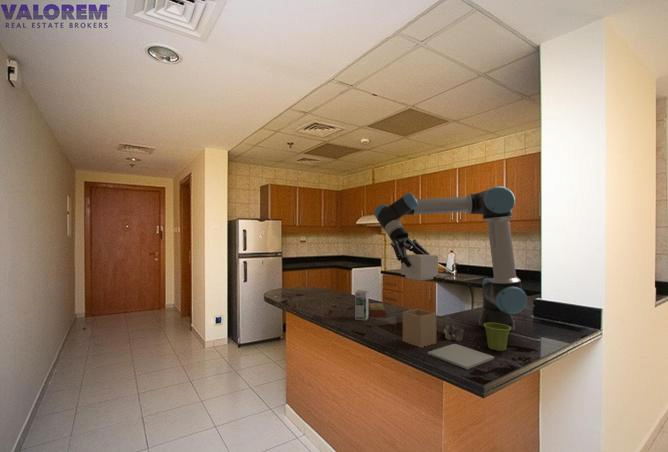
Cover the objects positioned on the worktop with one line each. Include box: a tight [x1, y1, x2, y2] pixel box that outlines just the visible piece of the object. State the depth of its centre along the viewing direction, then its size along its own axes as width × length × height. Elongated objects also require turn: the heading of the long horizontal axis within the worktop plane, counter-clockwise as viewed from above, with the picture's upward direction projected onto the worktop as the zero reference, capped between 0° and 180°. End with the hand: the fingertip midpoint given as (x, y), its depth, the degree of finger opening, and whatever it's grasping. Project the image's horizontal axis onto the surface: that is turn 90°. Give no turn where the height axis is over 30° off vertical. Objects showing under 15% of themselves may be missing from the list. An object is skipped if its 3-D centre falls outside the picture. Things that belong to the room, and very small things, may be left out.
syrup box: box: [354, 289, 369, 322], centre depth 166 cm, size 6×6×14 cm
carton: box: [368, 302, 387, 318], centre depth 178 cm, size 8×16×4 cm, turn 179°
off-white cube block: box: [400, 253, 439, 281], centre depth 132 cm, size 10×10×10 cm
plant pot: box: [484, 323, 511, 352], centre depth 124 cm, size 9×9×9 cm
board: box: [427, 343, 495, 370], centre depth 116 cm, size 16×16×1 cm
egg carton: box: [443, 324, 465, 342], centre depth 138 cm, size 11×8×4 cm
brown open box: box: [402, 308, 437, 349], centre depth 131 cm, size 9×9×12 cm
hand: (425, 271), depth 129 cm, fingers closed on off-white cube block, 10 cm apart
